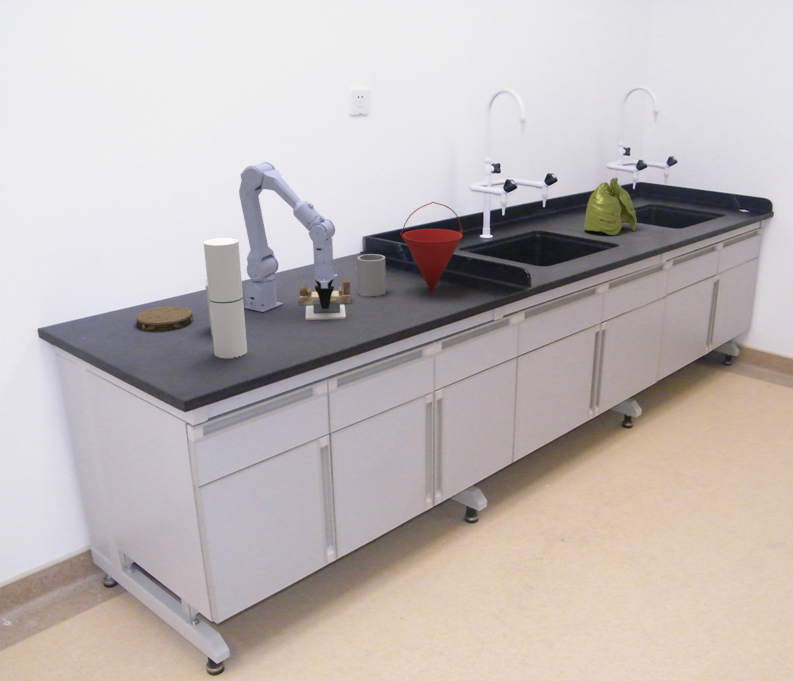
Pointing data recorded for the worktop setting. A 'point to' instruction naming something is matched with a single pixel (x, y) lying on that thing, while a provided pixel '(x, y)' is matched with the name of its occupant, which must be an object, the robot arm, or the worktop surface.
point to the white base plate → (324, 314)
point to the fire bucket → (432, 249)
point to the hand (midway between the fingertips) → (325, 304)
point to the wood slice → (164, 318)
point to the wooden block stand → (342, 294)
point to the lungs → (609, 209)
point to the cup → (371, 275)
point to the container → (225, 297)
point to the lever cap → (333, 306)
